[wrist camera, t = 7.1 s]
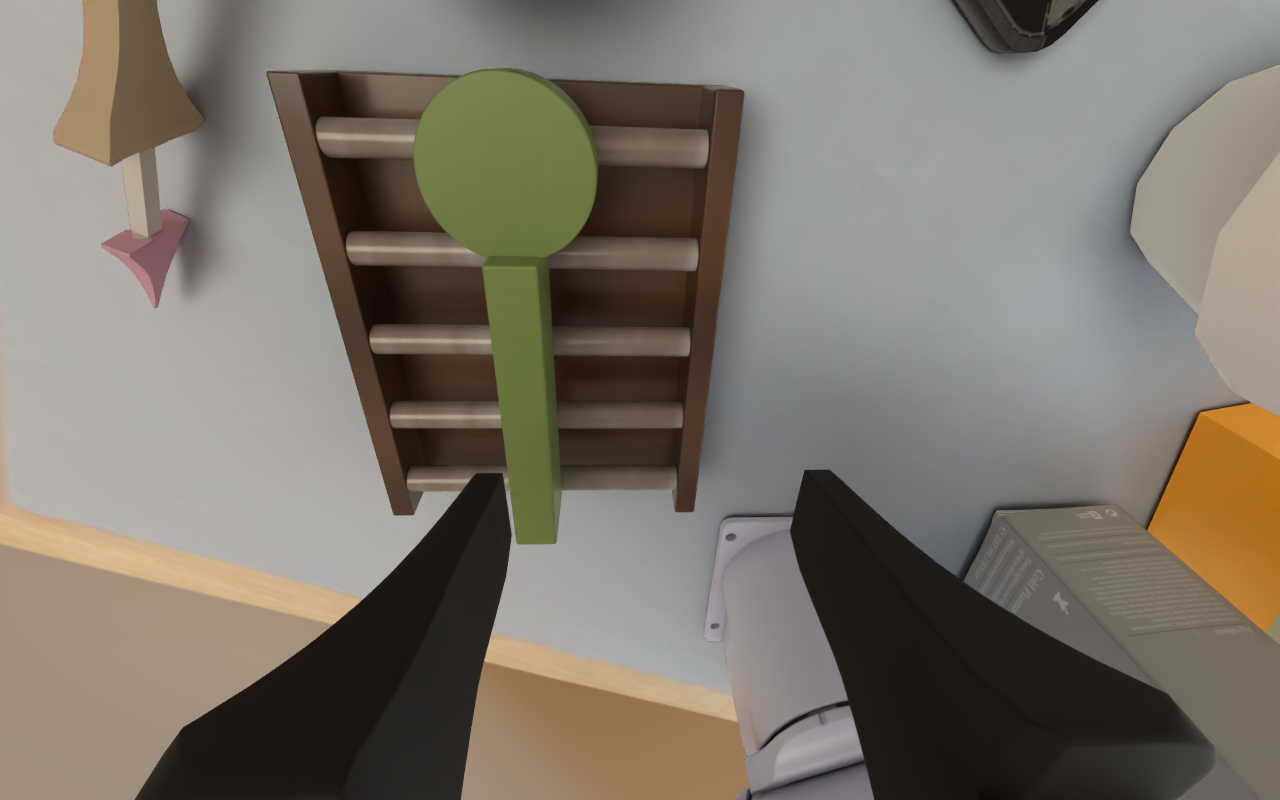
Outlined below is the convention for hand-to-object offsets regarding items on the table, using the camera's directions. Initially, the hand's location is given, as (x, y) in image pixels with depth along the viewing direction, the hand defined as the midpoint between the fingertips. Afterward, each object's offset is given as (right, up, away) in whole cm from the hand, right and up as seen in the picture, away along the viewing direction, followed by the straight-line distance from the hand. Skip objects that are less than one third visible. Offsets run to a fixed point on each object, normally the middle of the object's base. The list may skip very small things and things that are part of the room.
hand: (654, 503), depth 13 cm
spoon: (-4, +5, +4) cm, 7 cm away
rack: (-4, +6, +7) cm, 10 cm away
